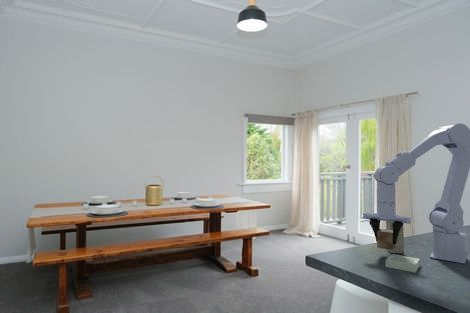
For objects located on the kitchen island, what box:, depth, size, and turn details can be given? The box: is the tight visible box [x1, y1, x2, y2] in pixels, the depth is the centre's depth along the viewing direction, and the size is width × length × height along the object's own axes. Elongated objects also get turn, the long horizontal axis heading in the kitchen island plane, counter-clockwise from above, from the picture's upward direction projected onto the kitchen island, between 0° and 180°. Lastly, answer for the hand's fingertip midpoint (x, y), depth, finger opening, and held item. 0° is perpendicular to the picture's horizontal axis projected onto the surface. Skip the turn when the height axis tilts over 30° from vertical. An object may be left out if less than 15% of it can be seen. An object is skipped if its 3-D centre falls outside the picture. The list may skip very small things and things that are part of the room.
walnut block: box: [376, 228, 395, 251], centre depth 108 cm, size 5×5×6 cm
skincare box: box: [385, 219, 405, 254], centre depth 115 cm, size 6×4×12 cm
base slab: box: [385, 253, 421, 273], centre depth 99 cm, size 8×8×2 cm
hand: (386, 242), depth 108 cm, fingers closed on walnut block, 5 cm apart
